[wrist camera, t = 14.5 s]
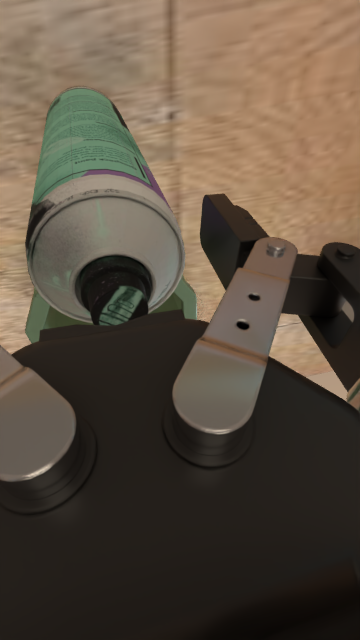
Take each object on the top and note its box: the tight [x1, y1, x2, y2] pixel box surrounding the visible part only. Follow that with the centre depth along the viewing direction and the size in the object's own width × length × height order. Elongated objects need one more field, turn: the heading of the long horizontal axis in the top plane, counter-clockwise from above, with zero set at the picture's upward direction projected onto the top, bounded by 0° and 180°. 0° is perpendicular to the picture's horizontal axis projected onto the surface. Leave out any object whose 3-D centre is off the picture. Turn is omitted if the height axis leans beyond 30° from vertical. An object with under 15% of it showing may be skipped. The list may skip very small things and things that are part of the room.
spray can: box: [25, 87, 185, 325], centre depth 16 cm, size 6×6×20 cm
